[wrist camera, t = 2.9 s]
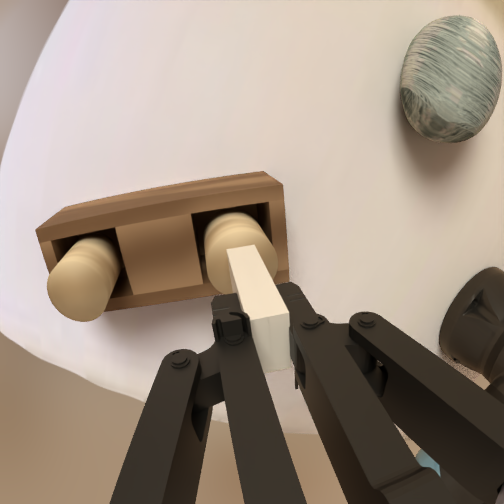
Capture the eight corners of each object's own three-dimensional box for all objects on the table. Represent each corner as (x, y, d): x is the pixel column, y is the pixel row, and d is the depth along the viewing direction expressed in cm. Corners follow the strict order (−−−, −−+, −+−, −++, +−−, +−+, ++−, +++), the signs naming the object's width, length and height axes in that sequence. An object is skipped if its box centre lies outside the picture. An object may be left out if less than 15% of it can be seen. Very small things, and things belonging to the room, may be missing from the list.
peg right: (262, 257, 23) (280, 291, 19) (208, 266, 23) (213, 303, 18) (257, 204, 22) (275, 227, 17) (199, 213, 21) (201, 238, 17)
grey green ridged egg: (453, 177, 25) (512, 140, 15) (370, 123, 26) (401, 60, 16) (480, 87, 25) (522, 41, 15) (411, 41, 26) (438, -17, 17)
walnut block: (270, 250, 28) (289, 281, 23) (86, 280, 26) (65, 316, 21) (263, 171, 26) (282, 184, 20) (64, 207, 23) (35, 229, 18)
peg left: (128, 279, 22) (115, 317, 18) (81, 287, 22) (60, 324, 17) (114, 228, 21) (95, 257, 16) (65, 238, 20) (38, 267, 16)
